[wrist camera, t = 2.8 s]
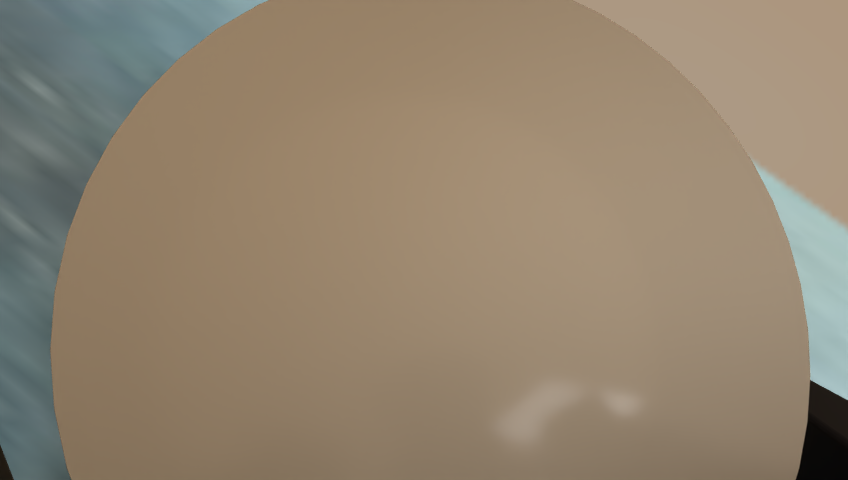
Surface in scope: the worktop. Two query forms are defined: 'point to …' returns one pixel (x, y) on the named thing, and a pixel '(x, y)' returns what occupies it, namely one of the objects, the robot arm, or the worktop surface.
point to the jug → (427, 261)
